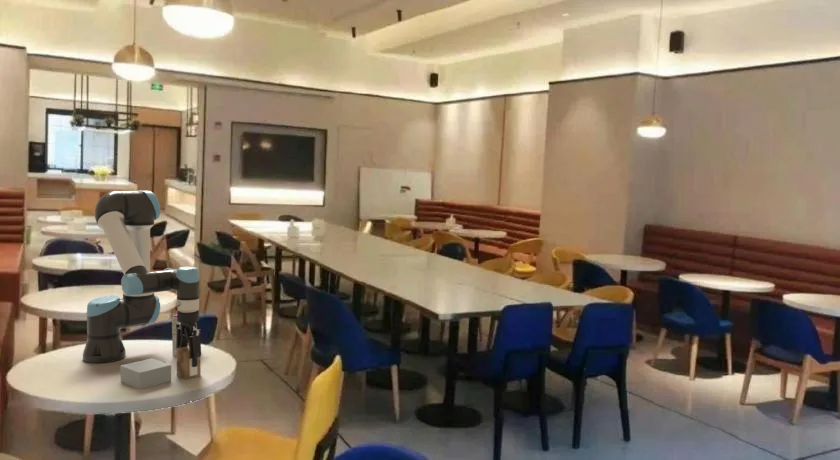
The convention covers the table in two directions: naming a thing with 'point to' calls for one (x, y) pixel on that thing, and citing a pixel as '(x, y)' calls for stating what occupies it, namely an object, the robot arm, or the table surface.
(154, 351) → the table surface
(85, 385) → the table surface
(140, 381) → the slate base block
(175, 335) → the candy bar box
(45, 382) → the table surface
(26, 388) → the table surface
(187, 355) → the walnut block
